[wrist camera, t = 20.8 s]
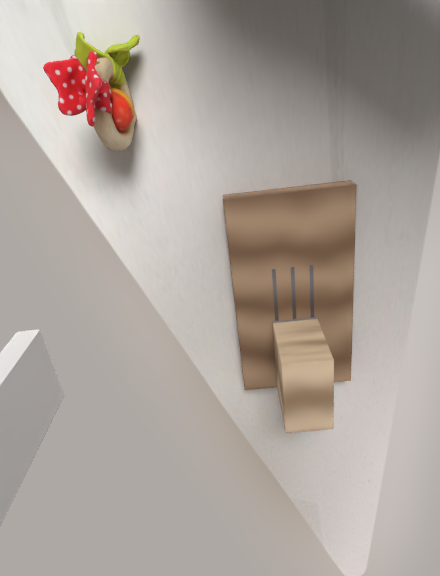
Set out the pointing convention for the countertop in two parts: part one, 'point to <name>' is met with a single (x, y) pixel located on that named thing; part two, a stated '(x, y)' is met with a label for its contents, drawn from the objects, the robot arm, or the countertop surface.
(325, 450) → the countertop surface
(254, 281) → the walnut board
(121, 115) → the bird rattle
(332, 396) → the block
